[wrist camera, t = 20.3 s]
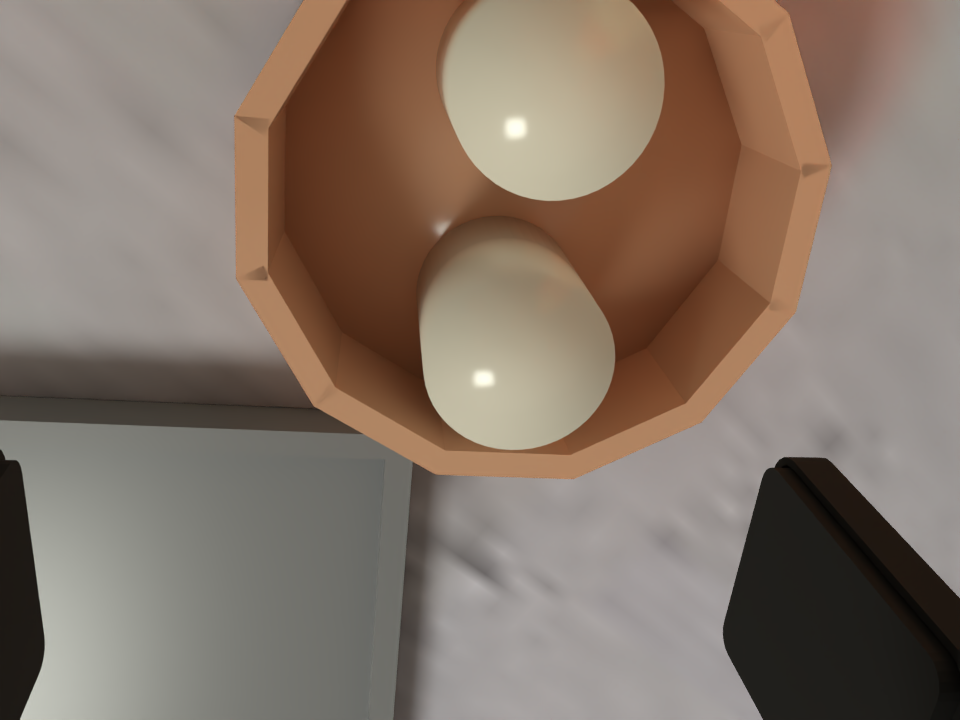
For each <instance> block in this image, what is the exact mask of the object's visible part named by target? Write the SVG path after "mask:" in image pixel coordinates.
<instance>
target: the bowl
mask: <svg viewBox="0 0 960 720" xmlns="http://www.w3.org/2000/svg"><path fill="white" fill-rule="evenodd" d="M463 1H464V0H303V2H302V4H301V5H300V7H299V9H298V11H297V12H296V14H295V16H294V17H293V19H292V21H291V22H290V24H289V26H288V27H287V29H286V31H285V32H284V34H283V36H282V37H281V39H280V41H279V42H278V44H277V46H276V47H275V49H274V51H273V52H272V54H271V56H270V57H269V59H268V61H267V62H266V64H265V66H264V67H263V69H262V71H261V73H260V74H259V76H258V78H257V79H256V81H255V83H254V84H253V86H252V88H251V89H250V91H249V93H248V94H247V96H246V98H245V99H244V101H243V103H242V104H241V106H240V108H239V109H238V111H237V113H236V114H235V116H234V120H235V219H236V279H237V281H238V283H239V284H240V286H241V288H242V289H243V291H244V293H245V294H246V296H247V298H248V299H249V301H250V302H251V304H252V306H253V307H254V309H255V311H256V312H257V314H258V316H259V317H260V319H261V321H262V322H263V324H264V325H265V327H266V329H267V330H268V332H269V334H270V335H271V337H272V339H273V340H274V342H275V344H276V345H277V347H278V348H279V350H280V352H281V353H282V355H283V357H284V358H285V360H286V362H287V363H288V365H289V367H290V368H291V370H292V372H293V373H294V375H295V376H296V378H297V380H298V381H299V383H300V385H301V386H302V388H303V390H304V391H305V393H306V395H307V396H308V398H309V399H310V401H311V403H312V404H313V406H314V407H316V408H318V409H320V410H322V411H323V412H325V413H327V414H329V415H331V416H332V417H334V418H336V419H338V420H339V421H341V422H343V423H345V424H347V425H348V426H350V427H352V428H354V429H355V430H357V431H359V432H361V433H363V434H364V435H366V436H368V437H370V438H371V439H373V440H375V441H377V442H379V443H380V444H382V445H384V446H386V447H388V448H389V449H391V450H393V451H395V452H396V453H398V454H400V455H402V456H404V457H405V458H407V459H409V460H411V461H412V462H414V463H416V464H418V465H420V466H421V467H423V468H425V469H427V470H428V471H430V472H432V473H434V474H436V475H464V476H494V477H525V478H556V479H575V478H577V477H579V476H582V475H584V474H586V473H588V472H591V471H593V470H595V469H597V468H600V467H602V466H604V465H606V464H609V463H611V462H613V461H615V460H618V459H620V458H622V457H624V456H627V455H629V454H631V453H633V452H636V451H638V450H640V449H642V448H645V447H647V446H649V445H651V444H654V443H656V442H658V441H660V440H663V439H665V438H667V437H669V436H672V435H674V434H676V433H678V432H681V431H683V430H685V429H687V428H690V427H692V426H694V425H696V424H699V423H701V422H702V421H703V420H704V419H705V418H706V416H707V415H708V414H709V413H710V412H711V410H712V409H713V408H714V407H715V406H716V405H717V403H718V402H719V401H720V400H721V399H722V398H723V396H724V395H725V394H726V393H727V392H728V391H729V389H730V388H731V387H732V386H733V385H734V384H735V382H736V381H737V380H738V379H739V378H740V377H741V375H742V374H743V373H744V372H745V371H746V370H747V368H748V367H749V366H750V365H751V364H752V363H753V361H754V360H755V359H756V358H757V357H758V356H759V354H760V353H761V352H762V351H763V350H764V349H765V347H766V346H767V345H768V344H769V343H770V342H771V340H772V339H773V338H774V337H775V336H776V335H777V333H778V332H779V331H780V330H781V329H782V327H783V326H784V325H785V324H786V323H787V322H788V320H789V319H790V318H791V317H792V316H793V315H794V313H795V312H796V309H797V305H798V301H799V297H800V292H801V288H802V284H803V280H804V276H805V272H806V268H807V264H808V260H809V256H810V252H811V248H812V244H813V240H814V236H815V232H816V227H817V223H818V219H819V215H820V211H821V207H822V203H823V199H824V195H825V191H826V187H827V183H828V179H829V175H830V171H831V166H832V165H831V161H830V158H829V154H828V150H827V147H826V143H825V140H824V136H823V133H822V129H821V126H820V122H819V119H818V115H817V111H816V108H815V104H814V101H813V97H812V94H811V90H810V87H809V83H808V80H807V76H806V72H805V69H804V65H803V62H802V58H801V55H800V51H799V48H798V44H797V41H796V37H795V33H794V30H793V26H792V23H791V19H790V16H789V13H788V12H787V11H786V10H784V9H783V8H782V7H781V6H780V5H779V4H778V3H777V2H775V1H774V0H629V1H630V2H632V3H633V4H634V5H635V6H636V8H637V9H638V10H639V11H640V12H641V14H642V15H643V16H644V17H645V19H646V21H647V22H648V24H649V26H650V27H651V29H652V31H653V33H654V35H655V38H656V40H657V42H658V45H659V49H660V52H661V56H662V61H663V67H664V83H665V87H664V98H663V104H662V109H661V113H660V117H659V120H658V123H657V125H656V128H655V130H654V133H653V135H652V137H651V139H650V141H649V143H648V144H647V146H646V147H645V149H644V150H643V152H642V154H641V155H640V156H639V157H638V158H637V160H636V161H635V162H634V163H633V165H632V166H630V167H629V168H628V169H627V170H626V171H625V172H624V173H623V174H622V175H621V176H619V177H618V178H617V179H615V180H614V181H613V182H611V183H610V184H608V185H606V186H605V187H603V188H601V189H599V190H597V191H595V192H592V193H590V194H588V195H585V196H581V197H578V198H574V199H568V200H561V201H544V200H536V199H530V198H527V197H523V196H519V195H517V194H514V193H512V192H509V191H507V190H505V189H504V188H502V187H500V186H499V185H497V184H495V183H494V182H493V181H491V180H490V179H489V178H487V177H486V176H485V175H484V174H483V173H482V172H481V171H480V170H479V169H478V168H477V167H476V166H475V165H474V163H473V162H472V161H471V159H470V158H469V157H468V155H467V154H466V152H465V150H464V148H463V147H462V145H461V143H460V141H459V139H458V137H457V135H456V132H455V130H454V128H453V126H452V124H451V122H450V119H449V117H448V115H447V113H446V111H445V108H444V106H443V103H442V101H441V98H440V94H439V91H438V86H437V79H436V59H437V51H438V47H439V43H440V39H441V37H442V34H443V32H444V29H445V27H446V25H447V23H448V21H449V20H450V18H451V16H452V15H453V13H454V12H455V11H456V9H457V8H458V7H459V6H460V5H461V4H462V3H463ZM488 216H507V217H514V218H518V219H522V220H525V221H527V222H530V223H532V224H534V225H536V226H537V227H539V228H541V229H542V230H544V231H545V232H546V233H548V234H549V235H550V236H551V237H552V238H553V239H554V240H555V241H556V242H557V244H558V245H559V246H560V248H561V249H562V250H563V252H564V254H565V255H566V257H567V258H568V260H569V261H570V263H571V264H572V266H573V267H574V269H575V271H576V272H577V274H578V275H579V277H580V278H581V280H582V281H583V283H584V285H585V286H586V288H587V289H588V291H589V292H590V294H591V295H592V297H593V298H594V300H595V302H596V303H597V305H598V306H599V308H600V309H601V311H602V312H603V314H604V316H605V318H606V320H607V322H608V324H609V326H610V329H611V332H612V335H613V340H614V345H615V366H614V372H613V376H612V381H611V383H610V386H609V389H608V391H607V393H606V395H605V397H604V399H603V401H602V402H601V404H600V405H599V407H598V408H597V409H596V411H595V412H594V413H593V414H592V415H591V416H590V418H589V419H588V420H587V421H586V422H584V423H583V424H582V425H581V426H580V427H579V428H577V429H576V430H574V431H573V432H572V433H570V434H569V435H567V436H565V437H563V438H561V439H559V440H557V441H555V442H552V443H550V444H547V445H544V446H540V447H536V448H531V449H524V450H504V449H496V448H491V447H487V446H484V445H481V444H478V443H475V442H473V441H471V440H469V439H467V438H465V437H464V436H462V435H461V434H459V433H458V432H456V431H455V430H454V429H452V428H451V427H450V426H449V425H448V424H447V423H446V422H445V421H444V420H443V419H442V417H441V416H440V415H439V414H438V412H437V411H436V409H435V408H434V406H433V404H432V402H431V400H430V398H429V395H428V392H427V389H426V386H425V380H424V374H423V363H422V353H421V342H420V331H419V321H418V310H417V299H416V289H417V281H418V276H419V273H420V269H421V267H422V265H423V262H424V260H425V258H426V257H427V255H428V253H429V252H430V250H431V249H432V248H433V246H434V245H435V244H436V243H437V242H438V241H439V240H440V239H441V238H442V237H443V236H444V235H445V234H447V233H448V232H449V231H451V230H452V229H454V228H456V227H457V226H459V225H461V224H463V223H466V222H468V221H470V220H474V219H477V218H481V217H488Z"/></svg>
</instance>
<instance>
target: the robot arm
mask: <svg viewBox="0 0 960 720" xmlns="http://www.w3.org/2000/svg"><path fill="white" fill-rule="evenodd" d="M723 638H724V644H725V648H726V651H727V653H728V655H729V657H730V659H731V661H732V663H733V665H734V666H735V668H736V670H737V672H738V674H739V676H740V678H741V679H742V681H743V683H744V685H745V687H746V689H747V690H748V692H749V694H750V696H751V698H752V700H753V702H754V703H755V705H756V707H757V709H758V711H759V713H760V714H761V716H762V718H763V720H960V598H959V597H958V596H957V595H956V594H955V593H954V592H953V591H952V590H951V589H950V588H949V586H948V585H947V584H946V583H945V582H944V581H943V580H942V579H941V578H940V577H939V576H938V575H937V574H936V573H935V572H934V571H933V569H932V568H931V567H930V566H929V565H928V564H927V563H926V562H925V561H924V560H923V559H922V558H921V557H920V556H919V555H918V554H917V553H916V551H915V550H914V549H913V548H912V547H911V546H910V545H909V544H908V543H907V542H906V541H905V540H904V539H903V538H902V537H901V536H900V535H899V533H898V532H897V531H896V530H895V529H894V528H893V527H892V526H891V525H890V524H889V523H888V522H887V521H886V520H885V519H884V518H883V516H882V515H881V514H880V513H879V512H878V511H877V510H876V509H875V508H874V507H873V506H872V505H871V504H870V503H869V502H868V501H867V500H866V498H865V497H864V496H863V495H862V494H861V493H860V492H859V491H858V490H857V489H856V488H855V487H854V486H853V485H852V484H851V483H850V481H849V480H848V479H847V478H846V477H845V476H844V475H843V474H842V473H841V472H840V471H839V470H838V469H837V468H836V467H835V466H834V465H833V463H832V462H830V461H829V460H828V459H826V458H805V457H784V458H782V459H780V460H779V461H778V462H777V464H776V465H775V468H769V469H767V470H766V472H765V473H764V475H763V478H762V481H761V485H760V489H759V493H758V496H757V500H756V504H755V508H754V511H753V515H752V519H751V523H750V527H749V530H748V534H747V538H746V542H745V545H744V549H743V553H742V557H741V561H740V564H739V568H738V572H737V576H736V579H735V583H734V587H733V591H732V595H731V598H730V602H729V606H728V610H727V613H726V617H725V621H724V626H723ZM44 651H45V636H44V629H43V622H42V614H41V607H40V599H39V592H38V585H37V577H36V570H35V563H34V555H33V548H32V541H31V533H30V526H29V519H28V511H27V504H26V497H25V489H24V482H23V474H22V469H21V466H20V464H19V462H18V461H17V460H5V456H4V454H3V452H2V450H0V720H20V718H21V716H22V713H23V711H24V709H25V706H26V704H27V702H28V699H29V697H30V694H31V692H32V690H33V687H34V685H35V683H36V680H37V678H38V675H39V673H40V670H41V667H42V663H43V659H44Z"/></svg>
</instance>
